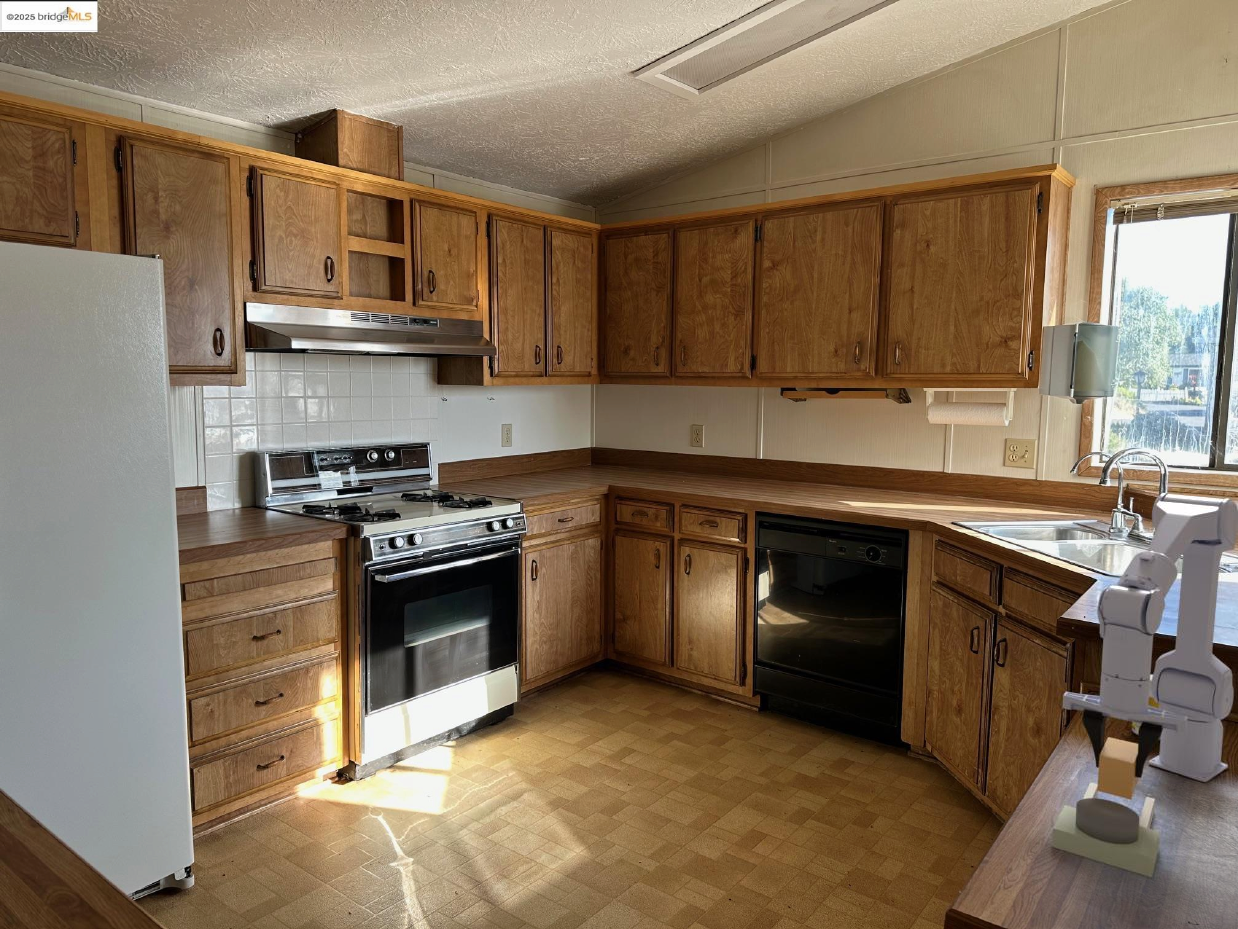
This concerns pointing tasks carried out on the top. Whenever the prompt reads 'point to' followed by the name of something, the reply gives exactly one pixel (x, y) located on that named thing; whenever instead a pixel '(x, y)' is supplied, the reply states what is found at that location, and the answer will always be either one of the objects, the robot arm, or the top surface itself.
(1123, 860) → the green base with dome
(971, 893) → the top surface
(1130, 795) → the chute block
